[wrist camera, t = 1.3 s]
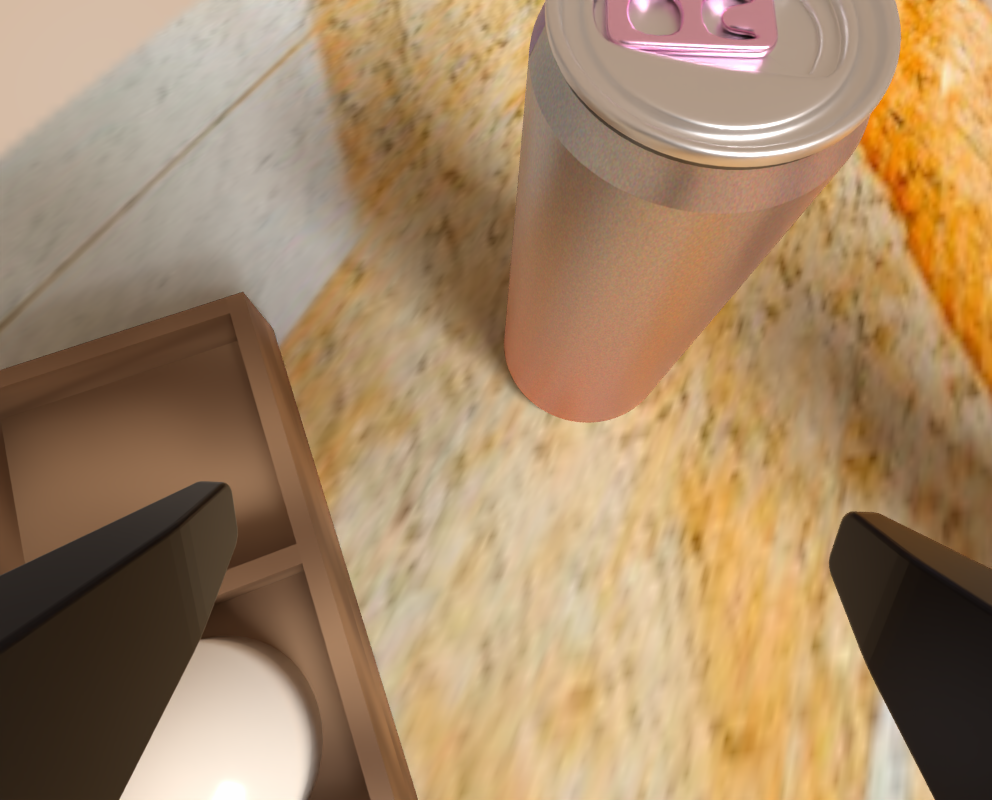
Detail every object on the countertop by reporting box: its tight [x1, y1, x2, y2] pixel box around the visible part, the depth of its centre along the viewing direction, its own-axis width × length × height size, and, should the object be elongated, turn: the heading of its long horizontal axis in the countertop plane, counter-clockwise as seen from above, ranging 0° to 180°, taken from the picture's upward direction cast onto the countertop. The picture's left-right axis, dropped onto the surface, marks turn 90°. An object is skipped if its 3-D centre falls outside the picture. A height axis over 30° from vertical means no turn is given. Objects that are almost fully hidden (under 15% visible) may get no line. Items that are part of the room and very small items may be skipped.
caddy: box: [0, 292, 418, 800], centre depth 20 cm, size 18×10×3 cm, turn 21°
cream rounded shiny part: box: [120, 636, 323, 800], centre depth 18 cm, size 6×6×3 cm
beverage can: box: [504, 0, 901, 422], centre depth 17 cm, size 6×6×15 cm
